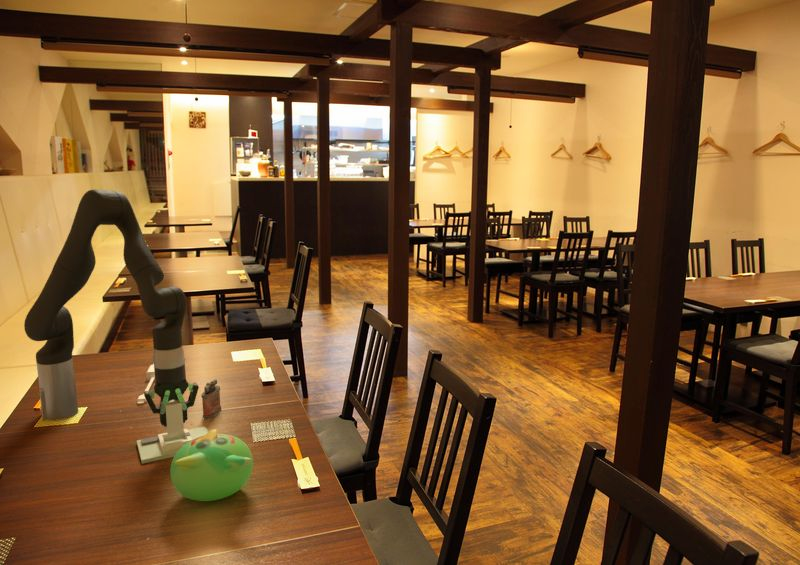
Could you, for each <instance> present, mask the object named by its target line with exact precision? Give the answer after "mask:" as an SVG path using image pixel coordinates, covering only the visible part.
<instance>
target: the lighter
mask: <svg viewBox="0 0 800 565" xmlns="http://www.w3.org/2000/svg"><path fill="white" fill-rule="evenodd" d="M217 384H218V380H217V379H216V378H215V379H213V380H211V381H210V382H206V384H205V386H204V391H203V392H202V393H201V395H200V396H201V399H202V419H203V418H204V420H210V418H211V419H212V417H213V418H214V417H216V416H217V415H219V413H220V412H221V411H222V405H221V393H220V391H221V386H220V385H217ZM220 410H221V411H220ZM215 415H216V416H215Z"/></svg>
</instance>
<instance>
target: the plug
mask: <svg viewBox="0 0 800 565" xmlns="http://www.w3.org/2000/svg"><path fill="white" fill-rule="evenodd" d="M165 409H166V410H165V413H166V422H167V427H165V430H166V433H168V434H172V433H177V432H182V431H184V429H185V426H184V423H183V413H182V403H180V402H179V400H171V401H168V403H167V405H166V406H165Z"/></svg>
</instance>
